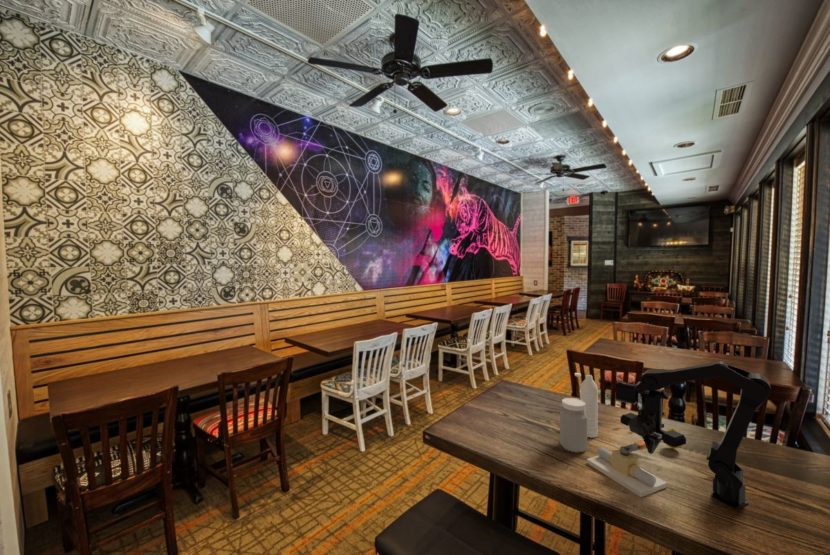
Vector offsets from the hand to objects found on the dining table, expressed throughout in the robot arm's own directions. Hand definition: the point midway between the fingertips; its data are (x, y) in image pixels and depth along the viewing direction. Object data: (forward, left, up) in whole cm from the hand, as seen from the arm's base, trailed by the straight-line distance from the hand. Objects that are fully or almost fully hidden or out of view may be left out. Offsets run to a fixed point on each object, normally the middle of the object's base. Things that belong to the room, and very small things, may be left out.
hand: (650, 453), depth 119 cm
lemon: (+7, -23, -7) cm, 25 cm away
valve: (+3, +8, -7) cm, 11 cm away
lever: (+3, +4, 0) cm, 5 cm away
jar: (+23, +10, -7) cm, 26 cm away
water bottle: (+29, -3, -7) cm, 30 cm away
